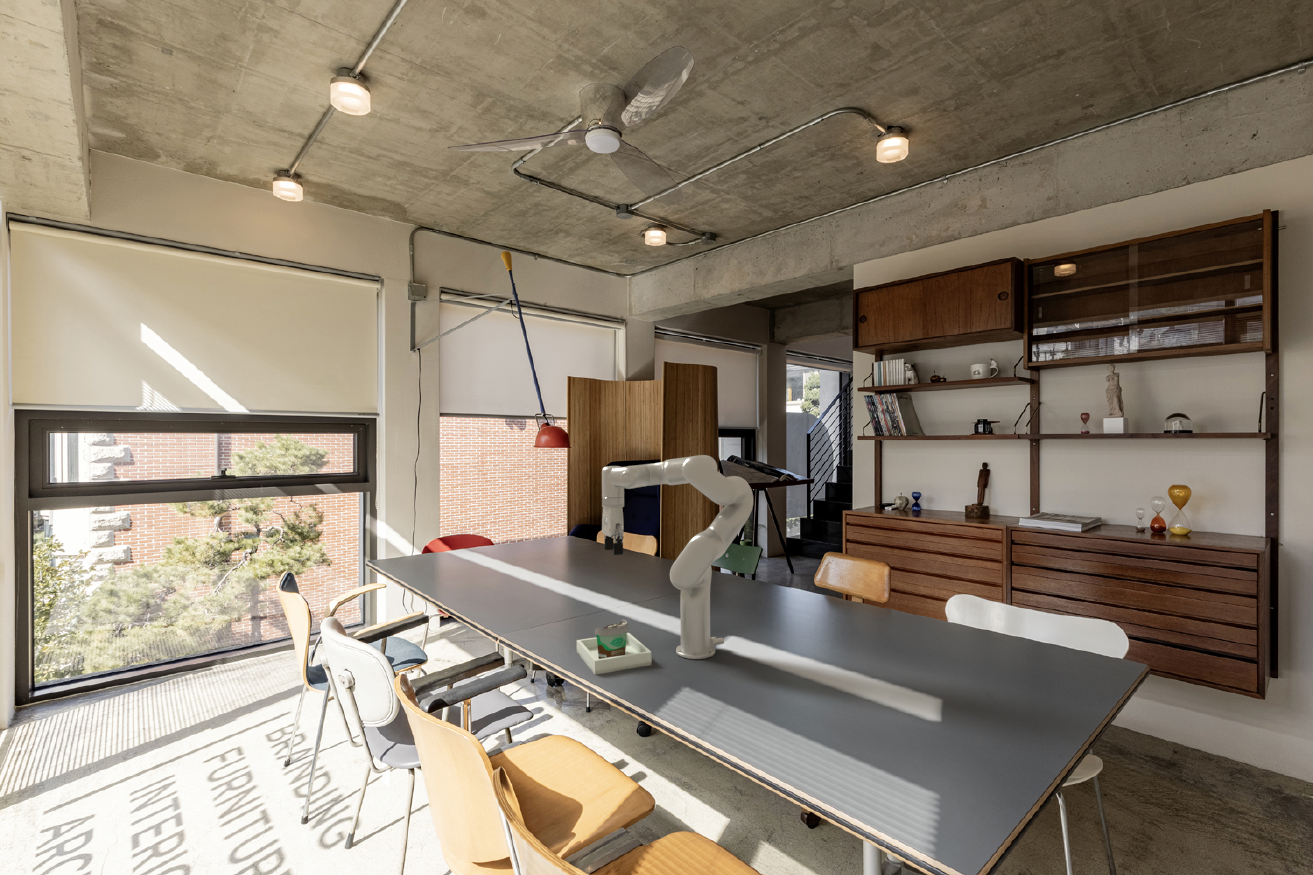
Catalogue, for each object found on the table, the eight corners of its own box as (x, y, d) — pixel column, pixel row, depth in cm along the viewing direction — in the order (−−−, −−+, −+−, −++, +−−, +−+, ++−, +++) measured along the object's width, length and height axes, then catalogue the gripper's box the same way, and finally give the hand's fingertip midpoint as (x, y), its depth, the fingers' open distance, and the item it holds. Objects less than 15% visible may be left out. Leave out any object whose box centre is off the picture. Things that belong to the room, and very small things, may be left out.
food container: (608, 664, 182) (607, 631, 182) (594, 659, 187) (594, 627, 186) (637, 653, 191) (637, 622, 191) (624, 649, 195) (623, 618, 195)
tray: (628, 644, 203) (628, 632, 203) (651, 664, 184) (651, 651, 184) (576, 652, 196) (576, 640, 196) (594, 674, 177) (594, 660, 177)
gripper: (595, 500, 214) (595, 548, 214) (610, 505, 198) (611, 557, 198) (615, 499, 217) (615, 547, 217) (632, 504, 201) (632, 555, 201)
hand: (613, 552), depth 207 cm, fingers open, 9 cm apart
